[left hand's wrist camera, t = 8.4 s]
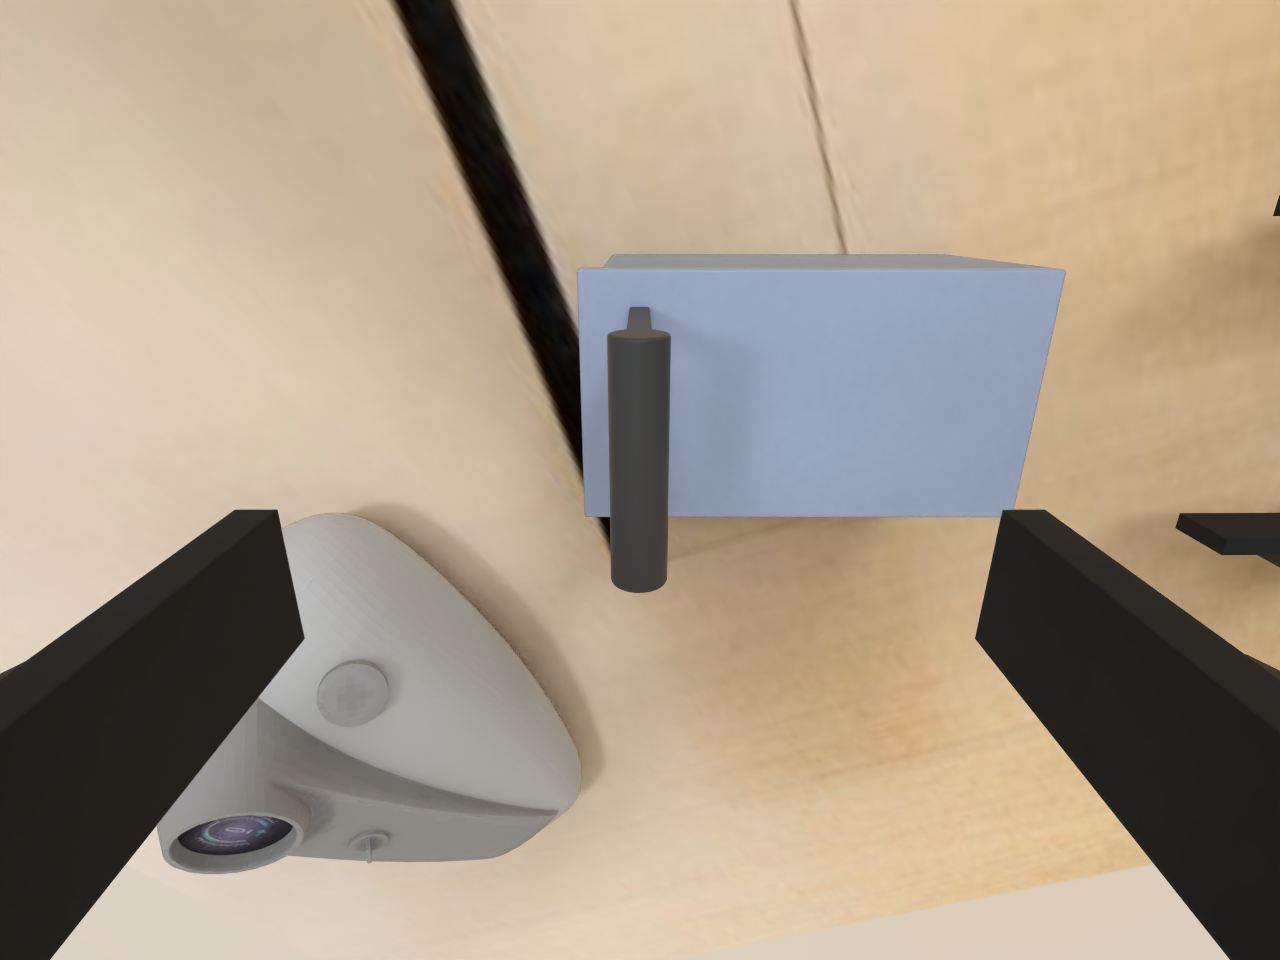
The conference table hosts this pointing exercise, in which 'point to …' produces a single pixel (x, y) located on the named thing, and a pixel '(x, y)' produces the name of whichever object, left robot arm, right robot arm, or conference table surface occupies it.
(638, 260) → the chest
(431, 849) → the projector
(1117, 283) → the conference table surface
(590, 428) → the lid
